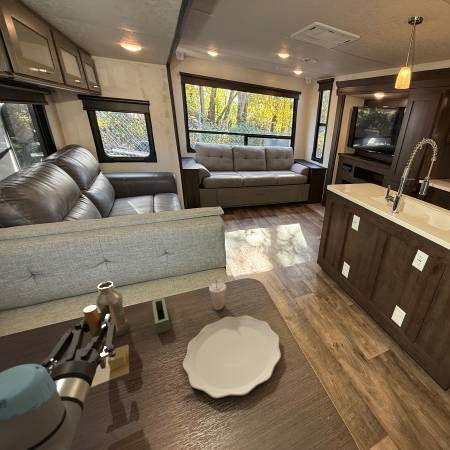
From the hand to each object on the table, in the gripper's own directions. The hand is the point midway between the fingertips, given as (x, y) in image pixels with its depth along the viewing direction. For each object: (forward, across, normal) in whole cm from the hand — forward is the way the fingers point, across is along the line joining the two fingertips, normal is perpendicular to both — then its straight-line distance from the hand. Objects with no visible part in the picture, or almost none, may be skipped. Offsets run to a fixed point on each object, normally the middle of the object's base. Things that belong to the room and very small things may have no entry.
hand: (100, 309), depth 69 cm
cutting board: (-6, -4, -18) cm, 19 cm away
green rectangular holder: (+10, +13, -18) cm, 24 cm away
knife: (-6, 0, -12) cm, 13 cm away
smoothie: (+12, +32, -18) cm, 39 cm away
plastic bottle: (+9, 0, -18) cm, 20 cm away
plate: (-12, +35, -18) cm, 41 cm away
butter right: (-5, +2, -16) cm, 17 cm away
